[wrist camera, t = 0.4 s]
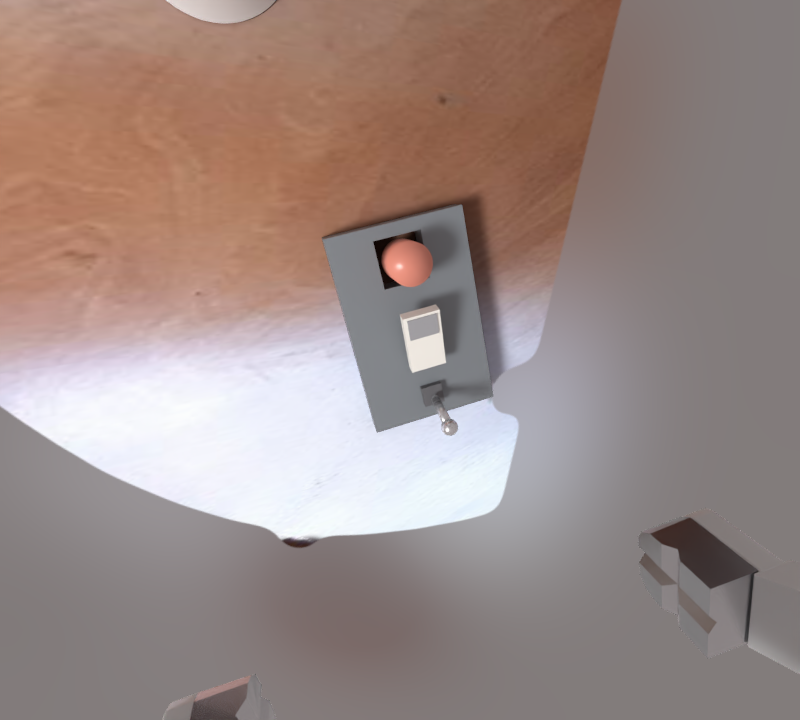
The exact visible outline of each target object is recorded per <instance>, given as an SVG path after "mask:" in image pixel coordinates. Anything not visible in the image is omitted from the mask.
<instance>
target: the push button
mask: <svg viewBox="0 0 800 720" xmlns="http://www.w3.org/2000/svg"><path fill="white" fill-rule="evenodd" d="M381 263H382V267H383V269H384V271H385V272H386V274H387V275H388V276H390V277H391V278H392V279H394V280H395V281H396V282H397V283H399V284H401V285H403V286H406V287H415V286H418V285H420V284H422V283H424V282H425V281H426V280H427V279H428V277H429V276H430V274H431V272H432V268H433V259H432V256H431V253H430V251H429V250H428V249H427V248H426V247H425V246H424V245H423V244H421V243H418V242H415V241H412V240H408V239H404V238H399V239H395V240H393V241H391V242H390V243H388V244H387V246H386V247H385V248H384V250H383V252H382V256H381Z"/></svg>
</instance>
